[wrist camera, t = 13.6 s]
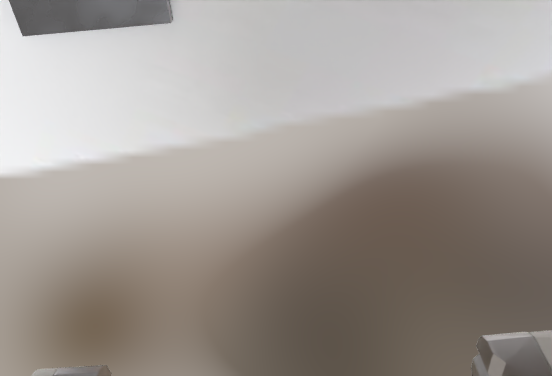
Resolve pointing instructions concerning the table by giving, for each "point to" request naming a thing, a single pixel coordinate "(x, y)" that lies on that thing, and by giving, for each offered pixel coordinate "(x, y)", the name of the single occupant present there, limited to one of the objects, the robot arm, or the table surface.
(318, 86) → the table surface
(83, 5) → the base
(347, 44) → the table surface
